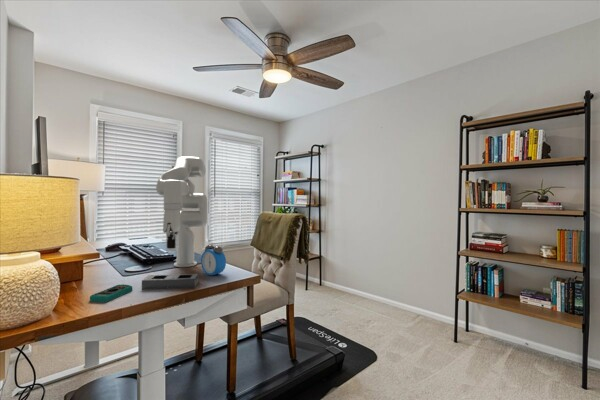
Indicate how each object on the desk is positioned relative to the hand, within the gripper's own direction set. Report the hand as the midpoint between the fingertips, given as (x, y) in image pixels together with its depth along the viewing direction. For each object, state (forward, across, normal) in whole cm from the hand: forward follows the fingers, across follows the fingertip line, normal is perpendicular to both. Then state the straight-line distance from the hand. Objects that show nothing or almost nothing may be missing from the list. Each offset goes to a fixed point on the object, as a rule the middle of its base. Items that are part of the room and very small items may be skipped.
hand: (172, 246), depth 131 cm
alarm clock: (+18, -17, +15) cm, 28 cm away
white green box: (+1, 0, 0) cm, 1 cm away
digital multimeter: (+18, +12, -20) cm, 29 cm away
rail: (+17, +1, 0) cm, 18 cm away
